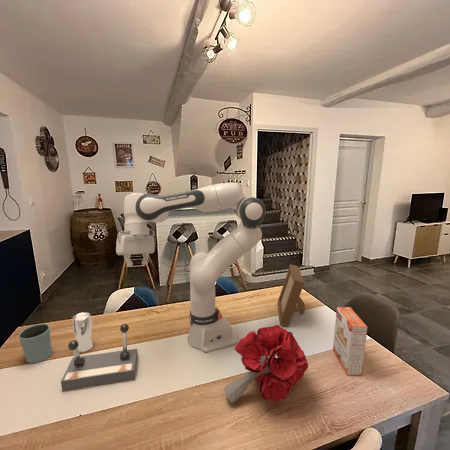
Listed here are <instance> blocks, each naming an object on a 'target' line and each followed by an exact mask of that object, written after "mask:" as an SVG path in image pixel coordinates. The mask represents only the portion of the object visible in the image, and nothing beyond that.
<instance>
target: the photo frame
mask: <svg viewBox="0 0 450 450" xmlns="http://www.w3.org/2000/svg"><path fill="white" fill-rule="evenodd" d="M284 278H285V279H284V282H283V285H282V288H281V291H280V293H279V297H278V299H277V313H278V320H279V321H278V322H279V326H283V327H286V328H289V327H290V325H291V322H292V318H293V315H294V313H295V310H296V307H297V306H298V310H299V313H300V315H303V314H304V313H305V312H306V305H305V301H303V299H302V297H301V296H300V295H301V293H302V291H303V288H304V285H305V281H304V277H303V276H302V273H301V271H300V268H299V266H298V265H295V264H291V263H290V264H289V268H288V270H287V272H286V276H285V277H284Z"/></svg>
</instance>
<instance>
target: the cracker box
mask: <svg viewBox="0 0 450 450" xmlns="http://www.w3.org/2000/svg"><path fill="white" fill-rule="evenodd" d="M368 328H369V327H368V326H367V325H366V323H364V322H363V320H362V319H361V318H360V317H359V315H358V314H357V313H356V312H355V311H354V310H353V308H352V307H350V306H337V307H336V314H335V325H334V334H333V335H334V336H333V343H332V345H333V347H332V351H333V353H334V354H335V357H336V359H337V360H338V361H339V364H340V365H341V367H342V369H343V370H344V372H345V374H346V375H347V376H362V375H363V367H364V366H363V365H364V358H365V351H366V343H367V342H366V341H367V335H368Z"/></svg>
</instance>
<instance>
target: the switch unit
mask: <svg viewBox="0 0 450 450" xmlns="http://www.w3.org/2000/svg"><path fill="white" fill-rule="evenodd" d="M138 350H139V349H138V348H133V349H132V348H131V349H127V351H129V353H130V355H129V358H126V359H120V353H121V352H123V350H116V351H109V352H103V353H94V354H87V355H82V356H81V355H80V357H81V358H85V363H84V365H77V366H74V360H75V356H73V357H72V358H71V361H70V363H69V364H68V366H67V368H66V370H65V373H64V374H63V376H62V378H61V380H60V384H61V385H60V386H61V392H67V391H72V390H79V389H86V388H92V387H96V386H97V387H99V386H104V385H109V384H110V385H111V384H117V383H122V382H130V381H135V378H136V373H137V367H138V361H139V354H138V353H139V351H138Z"/></svg>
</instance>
